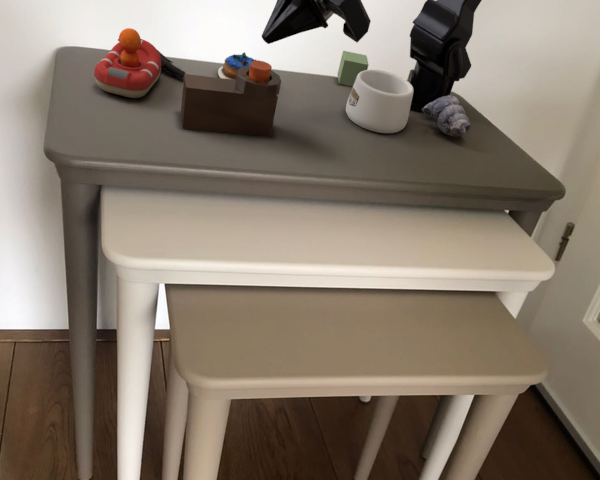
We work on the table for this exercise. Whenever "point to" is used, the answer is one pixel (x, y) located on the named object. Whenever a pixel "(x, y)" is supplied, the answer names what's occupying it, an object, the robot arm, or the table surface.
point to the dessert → (234, 66)
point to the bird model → (170, 67)
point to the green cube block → (351, 67)
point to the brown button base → (230, 103)
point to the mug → (380, 101)
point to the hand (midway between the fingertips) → (264, 40)
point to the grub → (448, 115)
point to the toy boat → (129, 66)
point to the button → (260, 71)
